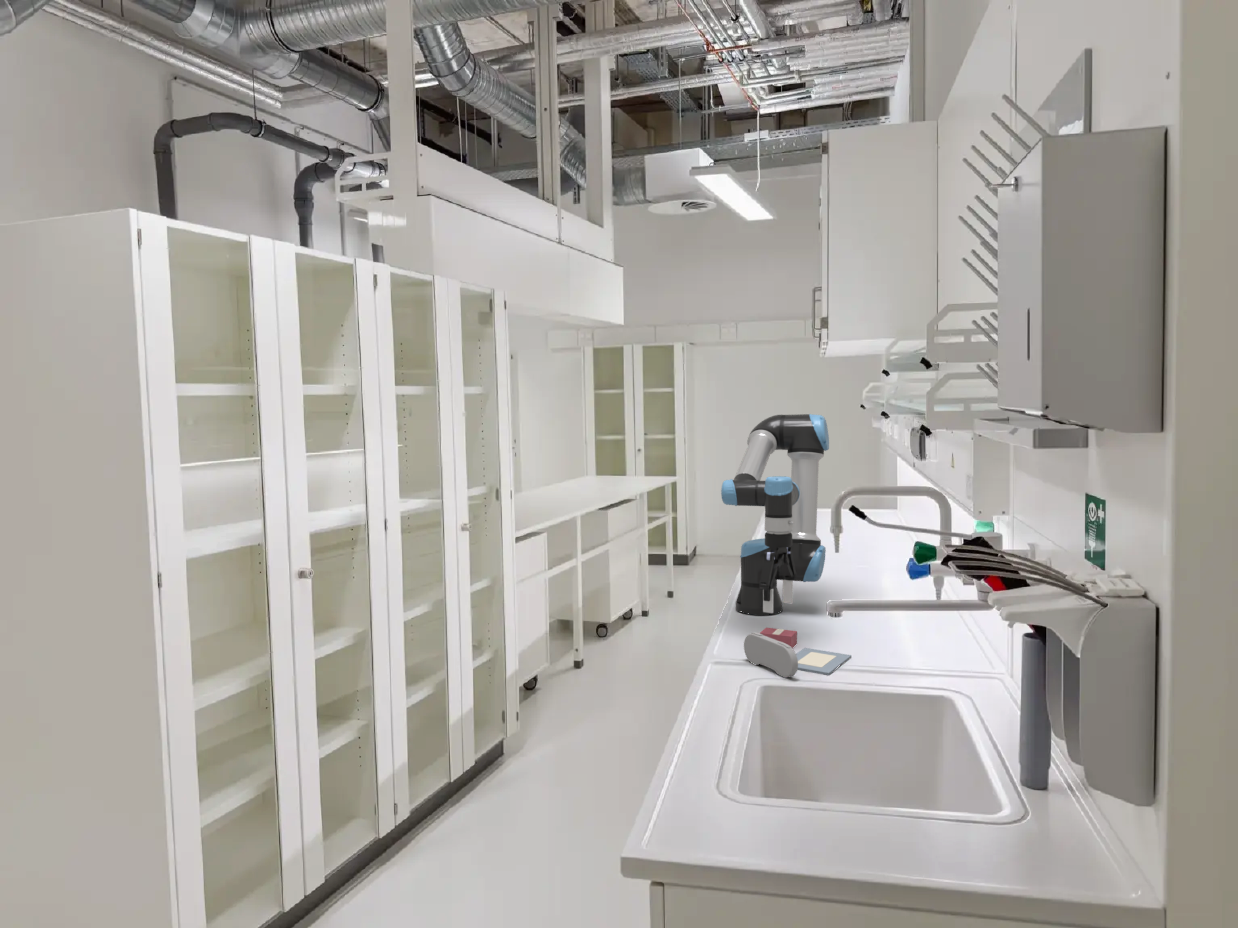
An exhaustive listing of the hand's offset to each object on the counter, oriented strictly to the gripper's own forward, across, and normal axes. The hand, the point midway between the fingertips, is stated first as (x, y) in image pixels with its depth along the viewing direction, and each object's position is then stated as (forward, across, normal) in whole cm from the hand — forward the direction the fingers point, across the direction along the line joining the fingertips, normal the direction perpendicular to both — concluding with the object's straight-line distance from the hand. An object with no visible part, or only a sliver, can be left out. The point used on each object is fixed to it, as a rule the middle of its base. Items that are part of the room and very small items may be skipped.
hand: (778, 607), depth 232 cm
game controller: (+12, -20, -6) cm, 24 cm away
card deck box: (+11, +1, 0) cm, 11 cm away
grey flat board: (+11, -8, -14) cm, 20 cm away
